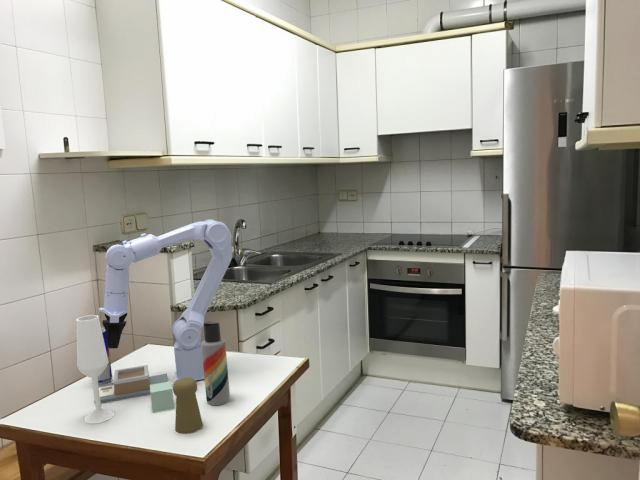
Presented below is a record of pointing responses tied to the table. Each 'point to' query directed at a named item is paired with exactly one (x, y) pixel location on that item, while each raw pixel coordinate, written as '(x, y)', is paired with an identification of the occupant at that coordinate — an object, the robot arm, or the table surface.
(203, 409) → the table surface
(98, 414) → the champagne flute
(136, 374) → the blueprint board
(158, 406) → the sage block
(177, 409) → the cork
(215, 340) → the lotion bottle
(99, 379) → the beverage can
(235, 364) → the table surface
